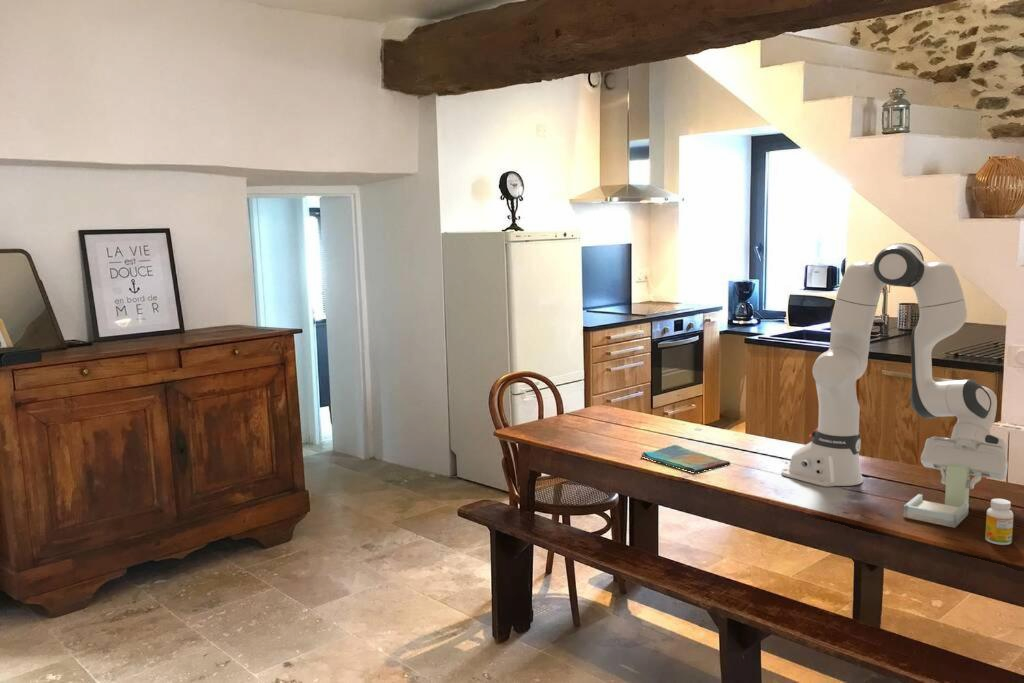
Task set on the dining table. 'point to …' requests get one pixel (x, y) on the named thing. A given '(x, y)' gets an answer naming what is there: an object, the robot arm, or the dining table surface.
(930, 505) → the holder
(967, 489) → the green block
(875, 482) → the dining table surface
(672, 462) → the dish towel
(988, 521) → the supplement bottle
